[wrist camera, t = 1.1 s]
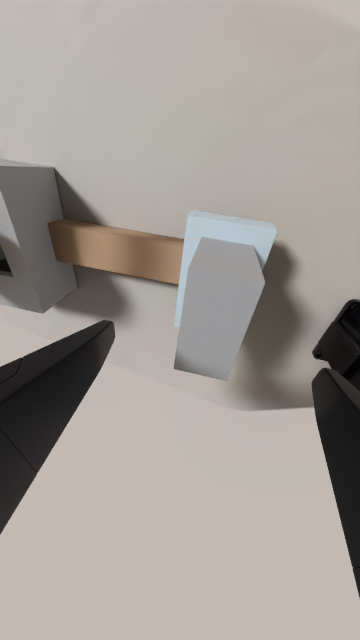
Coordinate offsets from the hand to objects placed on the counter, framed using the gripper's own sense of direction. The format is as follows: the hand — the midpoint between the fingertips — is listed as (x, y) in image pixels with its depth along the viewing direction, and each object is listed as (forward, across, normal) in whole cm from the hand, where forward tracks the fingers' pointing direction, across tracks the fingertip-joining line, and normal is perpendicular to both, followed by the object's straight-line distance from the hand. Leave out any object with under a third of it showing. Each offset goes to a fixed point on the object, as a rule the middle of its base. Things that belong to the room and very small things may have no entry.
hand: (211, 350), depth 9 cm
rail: (+10, +6, 0) cm, 12 cm away
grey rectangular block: (+10, +17, 0) cm, 20 cm away
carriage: (+8, 0, 0) cm, 8 cm away
